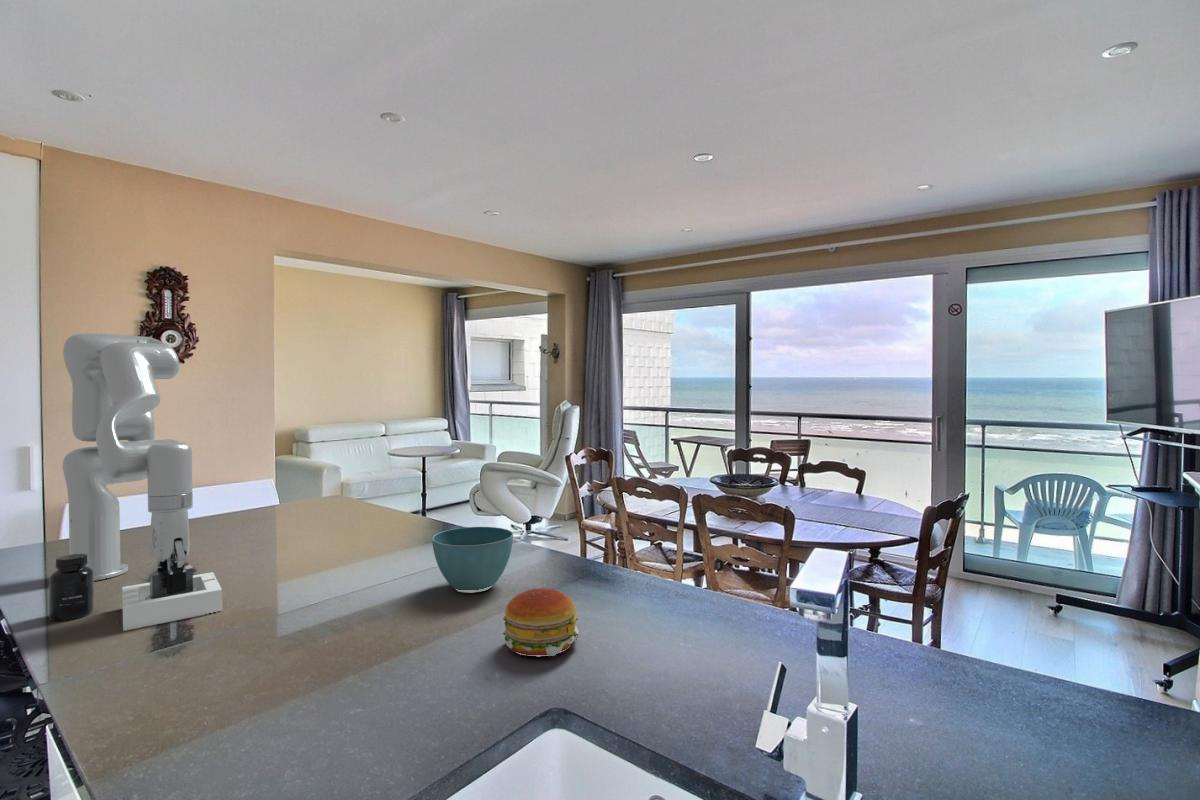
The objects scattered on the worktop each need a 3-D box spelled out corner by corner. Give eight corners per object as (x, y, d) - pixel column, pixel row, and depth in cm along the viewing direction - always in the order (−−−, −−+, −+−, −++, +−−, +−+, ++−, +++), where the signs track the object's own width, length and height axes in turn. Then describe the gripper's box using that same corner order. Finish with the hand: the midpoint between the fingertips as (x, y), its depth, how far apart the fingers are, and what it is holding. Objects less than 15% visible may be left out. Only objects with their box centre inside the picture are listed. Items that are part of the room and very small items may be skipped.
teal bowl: (415, 595, 132) (415, 540, 132) (463, 572, 149) (463, 523, 149) (485, 606, 126) (484, 548, 125) (527, 580, 142) (527, 529, 142)
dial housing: (122, 608, 125) (122, 586, 125) (213, 591, 135) (213, 571, 135) (123, 631, 113) (122, 606, 113) (222, 611, 123) (222, 588, 123)
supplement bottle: (67, 623, 117) (66, 562, 116) (39, 620, 118) (38, 560, 118) (103, 610, 123) (102, 553, 123) (76, 608, 125) (75, 551, 125)
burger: (495, 638, 110) (494, 584, 110) (564, 626, 115) (564, 575, 115) (514, 670, 98) (514, 609, 97) (590, 655, 103) (590, 598, 103)
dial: (151, 613, 117) (150, 579, 117) (139, 602, 123) (139, 570, 123) (204, 600, 124) (203, 568, 124) (190, 591, 130) (190, 560, 130)
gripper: (137, 499, 126) (139, 584, 127) (159, 510, 115) (161, 603, 115) (180, 495, 132) (181, 576, 132) (204, 505, 121) (206, 593, 121)
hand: (171, 587), depth 124 cm, fingers open, 5 cm apart
